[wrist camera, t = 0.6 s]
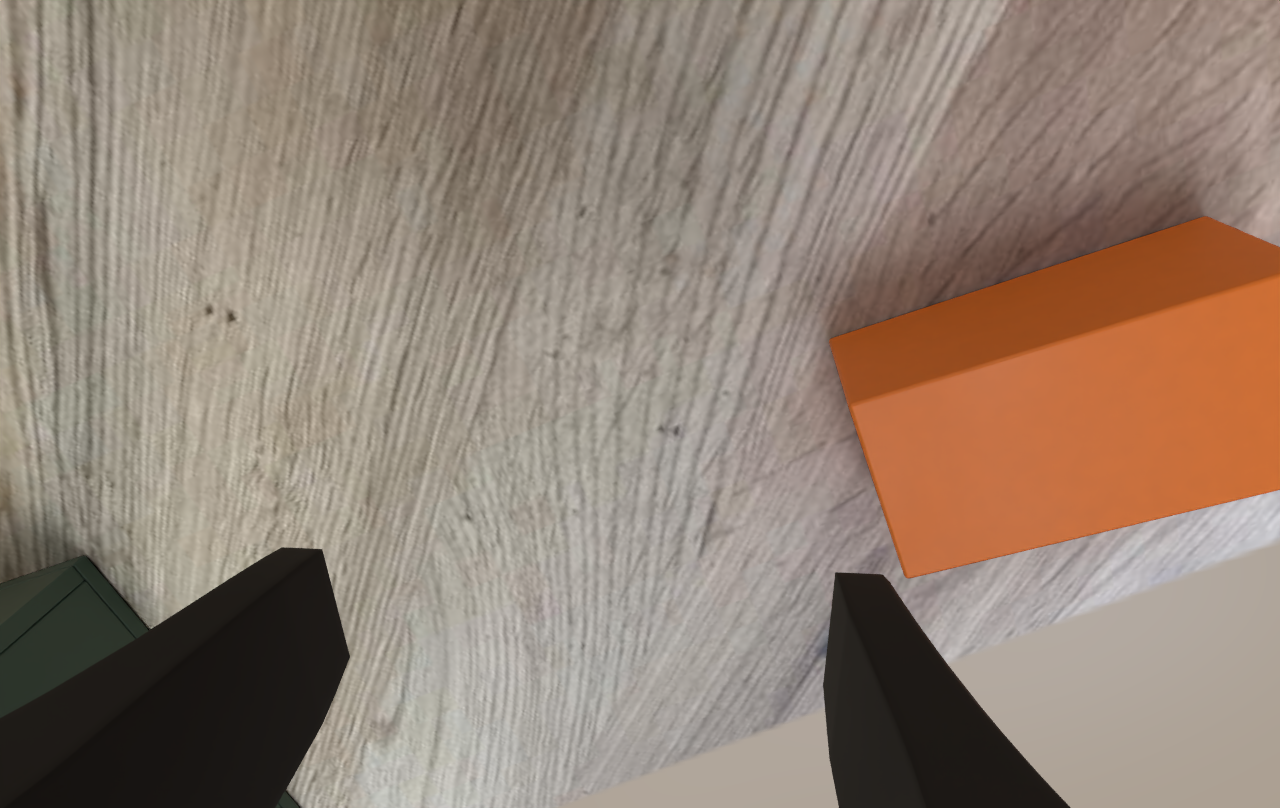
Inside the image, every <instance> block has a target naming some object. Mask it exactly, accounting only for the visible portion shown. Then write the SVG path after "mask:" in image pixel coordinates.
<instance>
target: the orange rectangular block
mask: <svg viewBox="0 0 1280 808" xmlns="http://www.w3.org/2000/svg"><path fill="white" fill-rule="evenodd" d="M829 344H830V347H831V350H832V354H833V357H834V361H835V364H836V367H837V371H838V374H839V377H840V381H841V384H842V387H843V391H844V394H845V397H846V401H847V404H848V407H849V410H850V413H851V416H852V419H853V422H854V425H855V428H856V431H857V434H858V437H859V440H860V443H861V446H862V449H863V452H864V455H865V458H866V461H867V464H868V467H869V470H870V473H871V477H872V480H873V483H874V486H875V489H876V492H877V495H878V498H879V501H880V504H881V507H882V510H883V513H884V516H885V519H886V522H887V525H888V528H889V531H890V534H891V537H892V540H893V543H894V546H895V549H896V552H897V555H898V558H899V561H900V564H901V567H902V570H903V573H904V576H905V577H906V578H913V577H917V576H922V575H926V574H930V573H934V572H938V571H942V570H947V569H951V568H955V567H959V566H963V565H968V564H972V563H976V562H980V561H984V560H988V559H993V558H997V557H1001V556H1005V555H1009V554H1013V553H1018V552H1022V551H1026V550H1030V549H1034V548H1039V547H1043V546H1047V545H1051V544H1055V543H1059V542H1064V541H1068V540H1072V539H1076V538H1080V537H1085V536H1089V535H1093V534H1097V533H1101V532H1105V531H1110V530H1114V529H1118V528H1122V527H1126V526H1131V525H1135V524H1139V523H1143V522H1147V521H1151V520H1156V519H1160V518H1164V517H1168V516H1172V515H1177V514H1181V513H1185V512H1189V511H1193V510H1197V509H1202V508H1206V507H1210V506H1214V505H1218V504H1222V503H1227V502H1231V501H1235V500H1239V499H1243V498H1248V497H1252V496H1256V495H1260V494H1264V493H1268V492H1273V491H1277V490H1280V247H1278V246H1276V245H1273V244H1271V243H1269V242H1266V241H1264V240H1261V239H1259V238H1257V237H1254V236H1252V235H1250V234H1247V233H1245V232H1243V231H1240V230H1238V229H1236V228H1233V227H1231V226H1228V225H1226V224H1224V223H1221V222H1219V221H1217V220H1214V219H1212V218H1210V217H1207V216H1204V217H1201V218H1198V219H1195V220H1192V221H1189V222H1186V223H1183V224H1179V225H1176V226H1173V227H1170V228H1167V229H1164V230H1161V231H1158V232H1155V233H1152V234H1149V235H1146V236H1143V237H1140V238H1137V239H1134V240H1131V241H1127V242H1124V243H1121V244H1118V245H1115V246H1112V247H1109V248H1106V249H1103V250H1100V251H1097V252H1094V253H1091V254H1088V255H1085V256H1082V257H1079V258H1075V259H1072V260H1069V261H1066V262H1063V263H1060V264H1057V265H1054V266H1051V267H1048V268H1045V269H1042V270H1039V271H1036V272H1033V273H1030V274H1027V275H1023V276H1020V277H1017V278H1014V279H1011V280H1008V281H1005V282H1002V283H999V284H996V285H993V286H990V287H987V288H984V289H981V290H978V291H975V292H972V293H968V294H965V295H962V296H959V297H956V298H953V299H950V300H947V301H944V302H941V303H938V304H935V305H932V306H929V307H926V308H923V309H920V310H916V311H913V312H910V313H907V314H904V315H901V316H898V317H895V318H892V319H889V320H886V321H883V322H880V323H877V324H874V325H871V326H868V327H864V328H861V329H858V330H855V331H852V332H849V333H846V334H843V335H840V336H837V337H834V338H831V339H830V340H829Z"/></svg>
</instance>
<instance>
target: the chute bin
mask: <svg viewBox="0 0 1280 808" xmlns="http://www.w3.org/2000/svg"><path fill="white" fill-rule="evenodd" d="M148 631H149V630H148V629H147V628H146V627H145V625H144V624H143V623H142V622H141V621H140V619H139V618H138V617H137V616H136V615H135V614H134V612H133V611H132V610H131V609H130V608H129V607H128V605H127V604H126V603H125V602H124V601H123V599H122V598H121V597H120V596H119V595H118V594H117V592H116V591H115V590H114V589H113V588H112V587H111V585H110V584H109V583H108V582H107V581H106V579H105V578H104V577H103V576H102V575H101V574H100V572H99V571H98V570H97V569H96V568H95V566H94V565H93V564H92V563H91V562H90V561H89V559H88V558H87V557H86V556H81V557H78V558H75V559H72V560H69V561H66V562H63V563H60V564H57V565H55V566H52V567H49V568H46V569H43V570H40V571H37V572H34V573H31V574H28V575H25V576H22V577H19V578H16V579H13V580H10V581H7V582H4V583H1V584H0V718H1V717H3V716H5V715H7V714H9V713H10V712H12V711H14V710H16V709H18V708H20V707H21V706H23V705H25V704H27V703H29V702H31V701H32V700H34V699H36V698H38V697H39V696H41V695H43V694H45V693H47V692H48V691H50V690H52V689H53V688H55V687H57V686H58V685H60V684H62V683H63V682H65V681H67V680H68V679H70V678H72V677H74V676H75V675H77V674H79V673H80V672H82V671H84V670H85V669H87V668H89V667H90V666H92V665H94V664H95V663H97V662H99V661H100V660H102V659H104V658H105V657H107V656H109V655H110V654H112V653H114V652H115V651H117V650H119V649H120V648H122V647H124V646H125V645H127V644H129V643H130V642H132V641H134V640H135V639H137V638H138V637H140V636H142V635H143V634H145V633H146V632H148ZM275 808H299V807H298V805H297V804H296V803H295V802H294V801H293V800H292V798H291V797H290V796H289V795H288V794H287V793H286V791H285V792H284V793H283V795H282V797H281V799H280V800H279V802H278V804H277V806H276V807H275Z"/></svg>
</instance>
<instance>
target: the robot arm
mask: <svg viewBox="0 0 1280 808" xmlns="http://www.w3.org/2000/svg"><path fill="white" fill-rule="evenodd" d="M349 658H350V655H349V651H348V648H347V644H346V640H345V636H344V632H343V628H342V624H341V620H340V617H339V613H338V609H337V605H336V601H335V597H334V593H333V589H332V586H331V582H330V578H329V574H328V570H327V566H326V562H325V558H324V555H323V551H322V549H305V548H283V547H282V548H280V549H278V550H277V551H275V552H273V553H271V554H269V555H268V556H266V557H264V558H263V559H261V560H259V561H258V562H256V563H254V564H253V565H251V566H249V567H248V568H246V569H245V570H243V571H241V572H240V573H238V574H237V575H235V576H233V577H232V578H230V579H229V580H227V581H226V582H224V583H223V584H221V585H219V586H218V587H216V588H215V589H213V590H212V591H210V592H209V593H207V594H206V595H204V596H202V597H201V598H199V599H198V600H196V601H195V602H193V603H192V604H190V605H188V606H187V607H185V608H184V609H182V610H181V611H179V612H177V613H176V614H174V615H173V616H171V617H170V618H168V619H167V620H165V621H163V622H162V623H160V624H159V625H157V626H156V627H154V628H152V629H151V630H149V631H148V632H146V633H145V634H143V635H142V636H140V637H138V638H137V639H135V640H134V641H132V642H130V643H129V644H127V645H125V646H124V647H122V648H120V649H119V650H117V651H115V652H114V653H112V654H110V655H109V656H107V657H105V658H104V659H102V660H100V661H99V662H97V663H95V664H94V665H92V666H90V667H89V668H87V669H85V670H84V671H82V672H80V673H79V674H77V675H75V676H74V677H72V678H70V679H68V680H67V681H65V682H63V683H62V684H60V685H58V686H57V687H55V688H53V689H52V690H50V691H48V692H47V693H45V694H43V695H41V696H39V697H38V698H36V699H34V700H32V701H31V702H29V703H27V704H25V705H23V706H21V707H20V708H18V709H16V710H14V711H12V712H10V713H9V714H7V715H5V716H3V717H1V718H0V808H275V807H276V806H277V804H278V802H279V800H280V799H281V797H282V795H283V793H284V792H285V790H286V788H287V786H288V785H289V783H290V781H291V779H292V778H293V776H294V774H295V772H296V771H297V769H298V767H299V765H300V764H301V762H302V760H303V758H304V756H305V755H306V753H307V751H308V749H309V747H310V746H311V744H312V742H313V740H314V739H315V737H316V735H317V733H318V731H319V729H320V728H321V726H322V724H323V722H324V719H325V717H326V715H327V712H328V710H329V708H330V705H331V703H332V701H333V698H334V696H335V694H336V691H337V689H338V686H339V684H340V681H341V678H342V676H343V673H344V671H345V668H346V666H347V663H348V660H349ZM823 688H824V700H825V712H826V723H827V735H828V746H829V757H830V763H831V768H832V774H833V779H834V784H835V789H836V794H837V799H838V805H839V808H1070V807H1069V806H1068V805H1067V804H1066V802H1065V801H1064V800H1063V799H1062V798H1061V797H1060V796H1059V795H1058V794H1057V793H1056V792H1055V791H1054V790H1053V789H1052V788H1051V787H1050V786H1049V784H1048V783H1047V782H1046V781H1045V780H1044V779H1043V778H1042V777H1041V776H1040V775H1039V774H1038V773H1037V771H1036V770H1035V769H1034V768H1033V767H1032V766H1031V765H1030V764H1029V763H1028V761H1027V760H1026V759H1025V758H1024V757H1023V756H1022V755H1021V753H1020V752H1019V751H1018V750H1017V749H1016V748H1015V747H1014V745H1013V744H1012V743H1011V742H1010V741H1009V740H1008V739H1007V737H1006V736H1005V735H1004V734H1003V733H1002V732H1001V731H1000V729H999V728H998V727H997V726H996V724H995V723H994V722H993V721H992V720H991V718H990V717H989V716H988V715H987V714H986V712H985V711H984V710H983V709H982V708H981V707H980V705H979V704H978V703H977V701H976V700H975V699H974V697H973V696H972V695H971V694H970V692H969V691H968V690H967V689H966V687H965V686H964V685H963V684H962V682H961V681H960V680H959V678H958V677H957V676H956V675H955V674H954V672H953V671H952V670H951V668H950V667H949V666H948V664H947V663H946V662H945V660H944V659H943V658H942V656H941V655H940V654H939V652H938V651H937V650H936V648H935V647H934V645H933V644H932V643H931V641H930V640H929V639H928V637H927V636H926V634H925V633H924V632H923V630H922V629H921V627H920V626H919V625H918V623H917V622H916V620H915V619H914V617H913V616H912V615H911V613H910V612H909V610H908V609H907V607H906V606H905V604H904V603H903V601H902V600H901V598H900V597H899V595H898V594H897V592H896V591H895V589H894V588H893V586H892V585H891V583H890V582H889V581H888V580H887V579H886V578H885V577H884V576H883V575H881V574H859V573H837V572H836V573H835V582H834V591H833V600H832V610H831V619H830V628H829V637H828V646H827V656H826V665H825V674H824V683H823Z"/></svg>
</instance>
